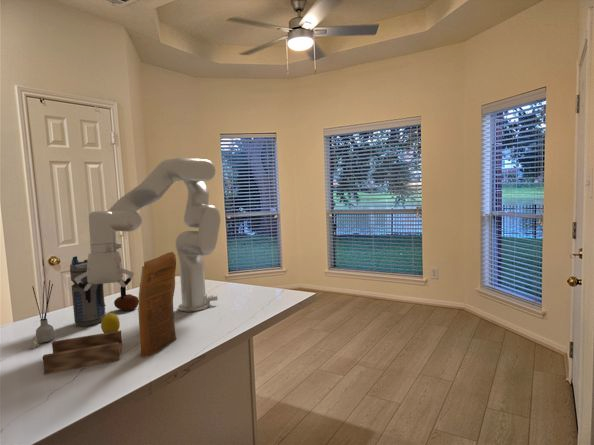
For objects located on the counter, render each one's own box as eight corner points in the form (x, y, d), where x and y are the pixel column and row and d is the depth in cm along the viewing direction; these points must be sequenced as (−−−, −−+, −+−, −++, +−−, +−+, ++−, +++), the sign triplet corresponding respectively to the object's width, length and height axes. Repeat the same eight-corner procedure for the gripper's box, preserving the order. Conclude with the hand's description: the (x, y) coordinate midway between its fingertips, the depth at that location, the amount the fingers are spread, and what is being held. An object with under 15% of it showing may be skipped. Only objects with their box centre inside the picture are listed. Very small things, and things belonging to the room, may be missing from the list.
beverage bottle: (97, 328, 129) (91, 259, 127) (66, 326, 132) (60, 259, 130) (117, 318, 139) (112, 254, 137) (88, 317, 142) (83, 254, 140)
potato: (131, 313, 145) (129, 297, 145) (111, 312, 147) (109, 296, 147) (142, 307, 152) (140, 292, 152) (122, 306, 154) (121, 292, 154)
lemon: (123, 335, 121) (121, 312, 120) (105, 340, 117) (103, 316, 116) (116, 331, 125) (115, 309, 124) (99, 336, 121) (97, 313, 120)
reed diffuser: (47, 336, 123) (41, 278, 121) (67, 336, 123) (62, 278, 121) (25, 349, 112) (18, 286, 111) (47, 348, 113) (41, 285, 111)
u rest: (122, 345, 113) (121, 330, 113) (119, 360, 102) (118, 343, 102) (54, 356, 106) (53, 341, 106) (44, 374, 96) (42, 357, 95)
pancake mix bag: (188, 334, 119) (182, 250, 117) (150, 361, 101) (143, 261, 99) (170, 333, 121) (164, 250, 119) (130, 359, 103) (122, 261, 101)
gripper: (133, 245, 125) (135, 294, 126) (75, 249, 119) (78, 300, 120) (132, 248, 118) (134, 299, 119) (70, 252, 112) (73, 306, 113)
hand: (106, 300), depth 119 cm, fingers open, 9 cm apart
